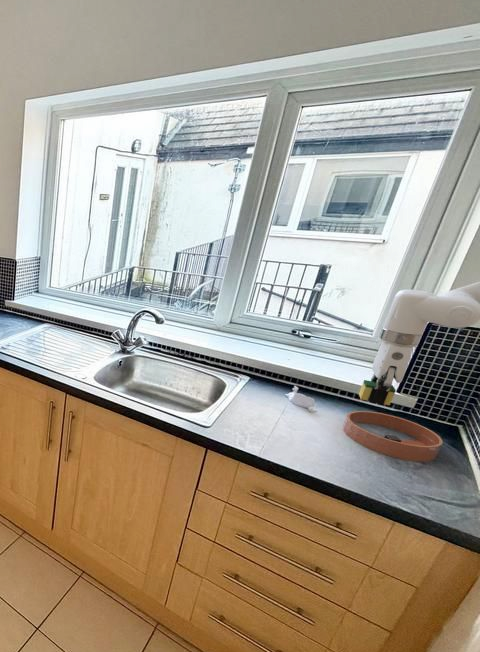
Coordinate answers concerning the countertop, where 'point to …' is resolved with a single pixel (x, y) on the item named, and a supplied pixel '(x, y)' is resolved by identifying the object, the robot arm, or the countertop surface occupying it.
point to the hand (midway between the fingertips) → (374, 398)
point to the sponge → (367, 390)
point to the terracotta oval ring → (402, 450)
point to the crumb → (392, 438)
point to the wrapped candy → (301, 399)
